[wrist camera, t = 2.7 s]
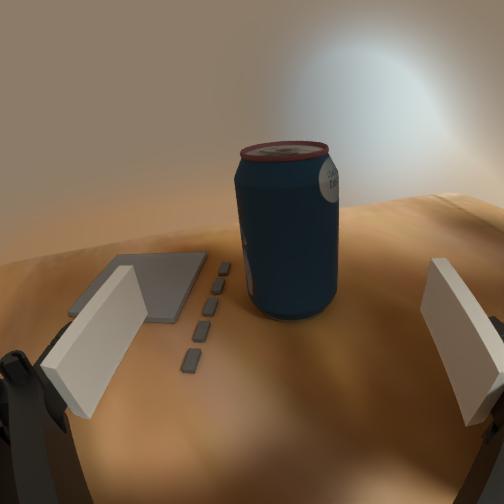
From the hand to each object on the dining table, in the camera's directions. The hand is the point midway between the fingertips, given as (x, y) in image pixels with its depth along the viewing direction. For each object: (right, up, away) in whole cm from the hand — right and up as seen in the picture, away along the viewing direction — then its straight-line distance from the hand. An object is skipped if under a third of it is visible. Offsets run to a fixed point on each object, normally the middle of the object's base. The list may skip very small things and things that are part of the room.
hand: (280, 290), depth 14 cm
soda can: (+2, -2, +12) cm, 13 cm away
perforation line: (-4, -3, +12) cm, 13 cm away
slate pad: (-12, -2, +16) cm, 20 cm away
